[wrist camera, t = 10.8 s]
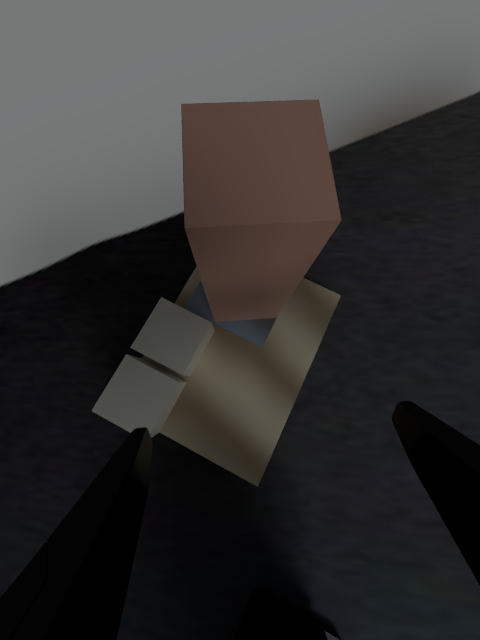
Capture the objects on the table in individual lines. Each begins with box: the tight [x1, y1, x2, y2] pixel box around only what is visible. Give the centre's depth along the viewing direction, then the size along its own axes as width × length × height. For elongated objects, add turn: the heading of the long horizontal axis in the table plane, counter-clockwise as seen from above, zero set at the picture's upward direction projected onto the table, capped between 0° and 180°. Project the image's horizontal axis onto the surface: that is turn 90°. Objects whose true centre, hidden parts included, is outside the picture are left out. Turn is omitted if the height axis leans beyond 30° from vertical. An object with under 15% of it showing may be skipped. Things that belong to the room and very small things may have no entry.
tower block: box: [181, 100, 341, 322], centre depth 15 cm, size 5×5×13 cm
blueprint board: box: [142, 267, 341, 487], centre depth 21 cm, size 16×12×1 cm
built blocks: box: [92, 297, 214, 438], centre depth 19 cm, size 8×4×3 cm, turn 153°
